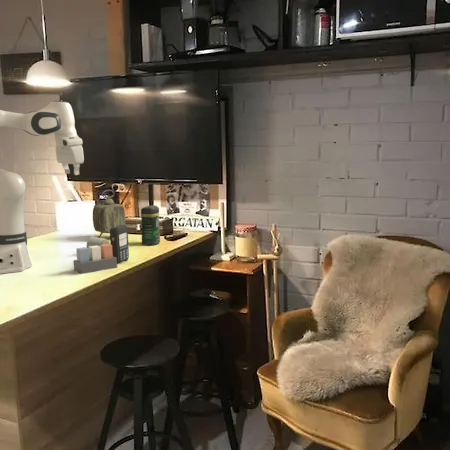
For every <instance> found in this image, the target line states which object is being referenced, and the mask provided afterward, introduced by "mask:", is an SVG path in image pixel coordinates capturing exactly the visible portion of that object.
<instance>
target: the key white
mask: <svg viewBox="0 0 450 450" xmlns="http://www.w3.org/2000/svg"><path fill="white" fill-rule="evenodd" d="M100 259H101V247H100V246H97V245H96V246H89V260H92V261H94V260H100Z"/></svg>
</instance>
